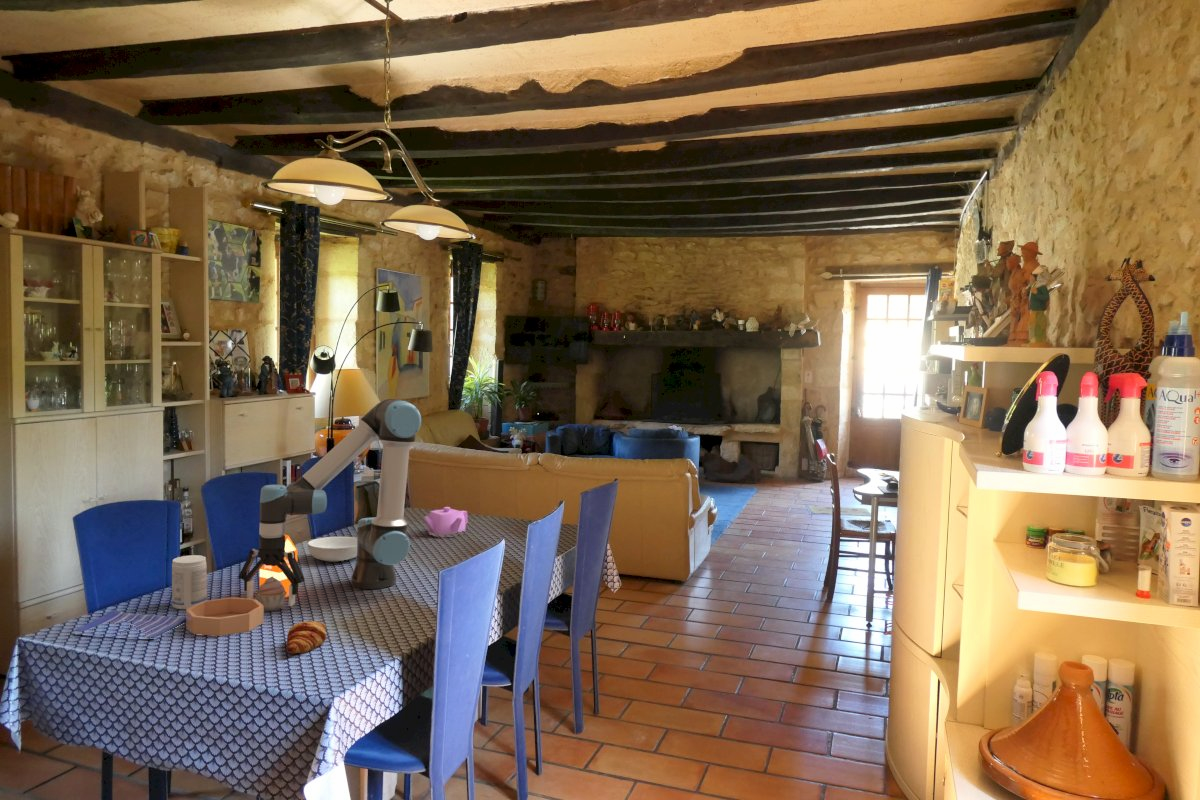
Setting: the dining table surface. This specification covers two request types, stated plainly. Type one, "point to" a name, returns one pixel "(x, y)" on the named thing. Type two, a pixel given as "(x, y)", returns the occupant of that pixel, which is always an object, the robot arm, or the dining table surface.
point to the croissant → (305, 636)
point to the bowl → (224, 616)
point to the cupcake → (271, 594)
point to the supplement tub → (189, 581)
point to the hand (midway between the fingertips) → (270, 603)
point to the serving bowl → (333, 548)
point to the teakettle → (446, 521)
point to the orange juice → (277, 572)
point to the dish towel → (138, 622)
